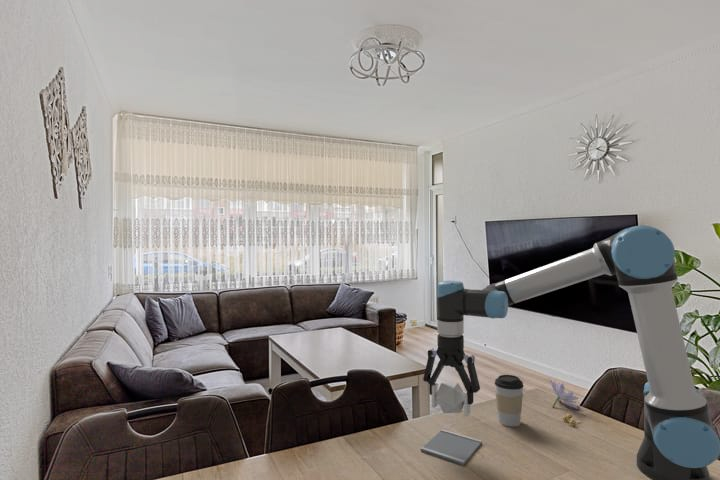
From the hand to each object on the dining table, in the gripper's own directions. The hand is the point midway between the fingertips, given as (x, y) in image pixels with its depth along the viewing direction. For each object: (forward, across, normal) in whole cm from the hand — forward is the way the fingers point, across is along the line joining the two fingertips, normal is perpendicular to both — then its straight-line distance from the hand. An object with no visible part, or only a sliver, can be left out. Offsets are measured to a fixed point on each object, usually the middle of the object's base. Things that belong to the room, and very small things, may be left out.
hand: (450, 410), depth 122 cm
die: (0, 0, 0) cm, 0 cm away
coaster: (+11, 0, 0) cm, 11 cm away
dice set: (+12, -26, -37) cm, 47 cm away
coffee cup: (+11, -9, -26) cm, 30 cm away
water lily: (+11, -22, -49) cm, 55 cm away
